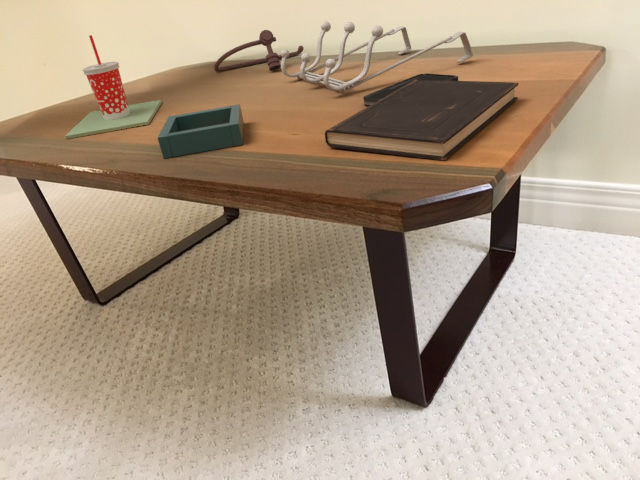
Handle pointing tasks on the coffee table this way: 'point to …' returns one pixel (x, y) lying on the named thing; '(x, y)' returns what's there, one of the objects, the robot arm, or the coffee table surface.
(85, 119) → the mat
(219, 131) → the open rectangular box
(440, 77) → the phone
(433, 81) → the hardcover book
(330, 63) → the over door rack
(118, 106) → the beverage cup
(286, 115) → the coffee table surface
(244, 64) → the toilet paper hanger
